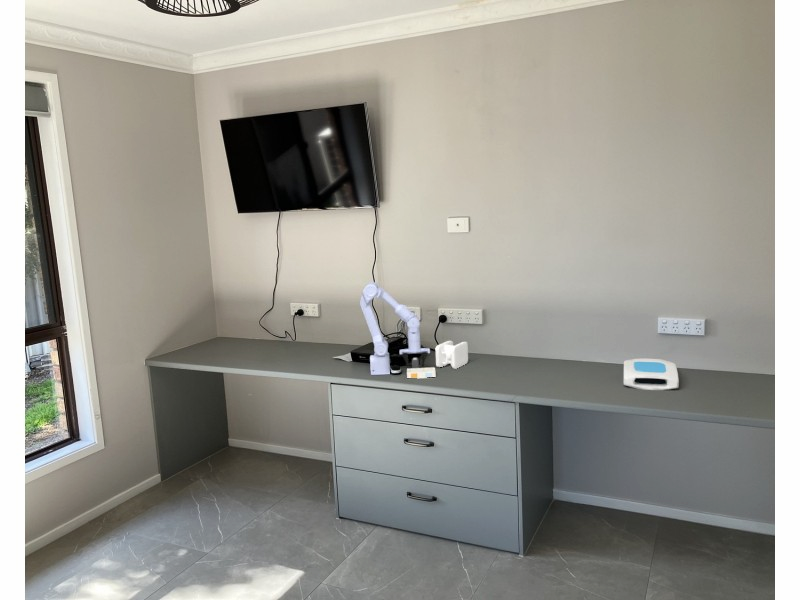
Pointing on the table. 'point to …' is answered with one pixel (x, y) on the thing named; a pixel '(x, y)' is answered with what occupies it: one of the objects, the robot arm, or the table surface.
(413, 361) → the plug
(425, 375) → the white printed box
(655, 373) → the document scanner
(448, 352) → the cable organizer
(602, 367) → the table surface
